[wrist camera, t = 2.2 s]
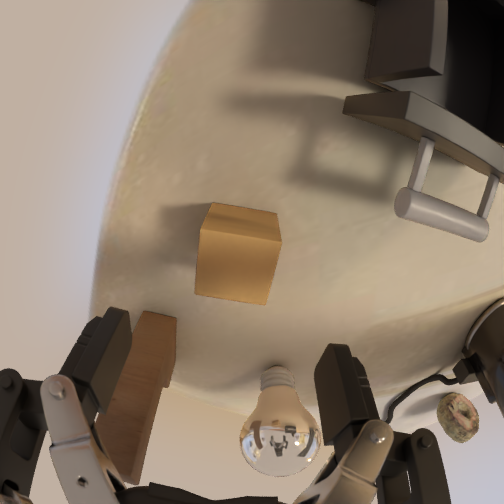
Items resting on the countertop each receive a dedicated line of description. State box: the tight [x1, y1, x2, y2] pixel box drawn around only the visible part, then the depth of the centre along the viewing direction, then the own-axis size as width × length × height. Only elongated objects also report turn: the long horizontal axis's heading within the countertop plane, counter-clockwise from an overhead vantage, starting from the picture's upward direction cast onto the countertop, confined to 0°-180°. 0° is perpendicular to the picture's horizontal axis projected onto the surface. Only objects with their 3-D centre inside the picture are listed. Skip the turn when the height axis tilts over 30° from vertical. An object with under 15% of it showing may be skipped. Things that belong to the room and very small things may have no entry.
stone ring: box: [437, 393, 479, 443], centre depth 29 cm, size 10×4×10 cm, turn 66°
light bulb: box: [240, 365, 321, 477], centre depth 22 cm, size 7×7×12 cm
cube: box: [194, 203, 282, 305], centre depth 18 cm, size 4×4×4 cm
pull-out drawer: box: [342, 0, 504, 242], centre depth 9 cm, size 19×13×8 cm, turn 170°
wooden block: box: [96, 311, 177, 485], centre depth 19 cm, size 7×3×15 cm, turn 168°
